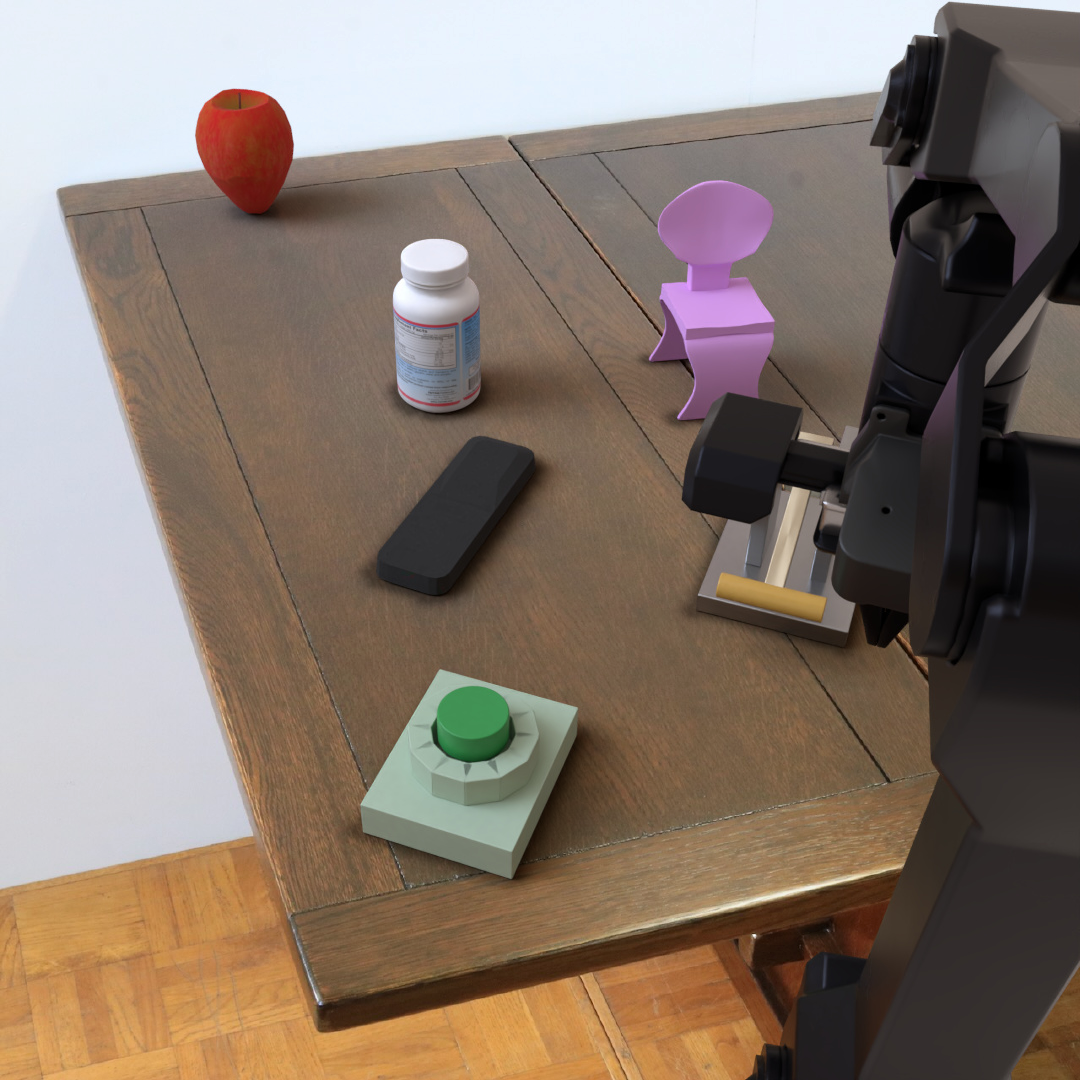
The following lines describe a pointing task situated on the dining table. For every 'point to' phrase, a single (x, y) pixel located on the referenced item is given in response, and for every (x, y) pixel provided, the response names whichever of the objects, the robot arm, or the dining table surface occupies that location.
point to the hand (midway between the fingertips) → (877, 640)
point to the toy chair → (715, 292)
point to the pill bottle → (437, 327)
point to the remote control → (455, 515)
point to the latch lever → (780, 564)
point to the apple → (245, 146)
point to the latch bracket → (810, 572)
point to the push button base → (471, 782)
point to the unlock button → (473, 723)
